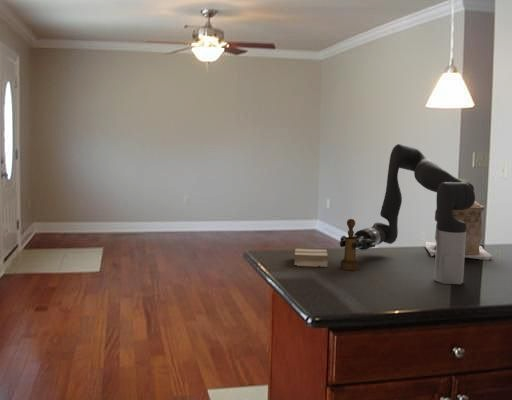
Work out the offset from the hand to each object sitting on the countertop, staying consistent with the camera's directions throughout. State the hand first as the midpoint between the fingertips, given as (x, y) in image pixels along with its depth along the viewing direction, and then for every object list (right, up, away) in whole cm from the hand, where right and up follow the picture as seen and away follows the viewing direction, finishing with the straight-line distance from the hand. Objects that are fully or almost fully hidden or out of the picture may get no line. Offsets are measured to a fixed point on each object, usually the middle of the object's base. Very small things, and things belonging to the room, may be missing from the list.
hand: (347, 244), depth 207 cm
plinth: (-12, -8, +11) cm, 18 cm away
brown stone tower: (+51, -6, +36) cm, 63 cm away
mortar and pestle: (+1, -9, +3) cm, 10 cm away
